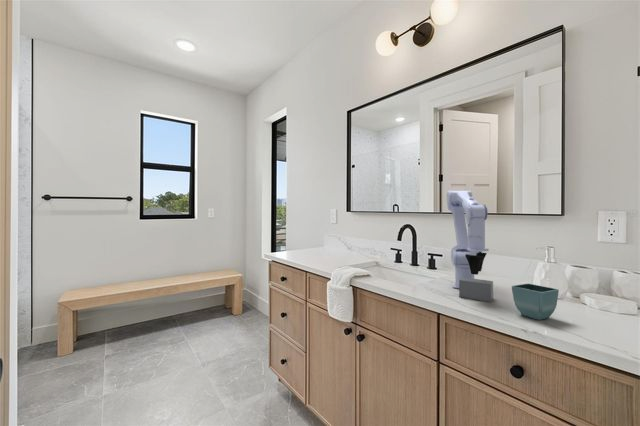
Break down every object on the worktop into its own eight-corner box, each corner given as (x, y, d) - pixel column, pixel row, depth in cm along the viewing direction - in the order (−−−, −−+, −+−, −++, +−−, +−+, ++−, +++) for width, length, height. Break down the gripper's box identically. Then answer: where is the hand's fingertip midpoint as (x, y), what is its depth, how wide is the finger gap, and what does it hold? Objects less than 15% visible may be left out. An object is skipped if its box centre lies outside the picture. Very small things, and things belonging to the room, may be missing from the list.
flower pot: (510, 314, 88) (510, 285, 89) (528, 310, 92) (528, 282, 92) (541, 323, 80) (541, 292, 80) (559, 319, 84) (559, 289, 84)
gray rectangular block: (462, 293, 112) (462, 277, 112) (493, 298, 106) (493, 281, 106) (459, 296, 107) (459, 280, 107) (491, 302, 101) (491, 284, 101)
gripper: (485, 238, 98) (485, 277, 98) (490, 236, 110) (490, 271, 110) (463, 237, 103) (463, 274, 102) (470, 235, 114) (470, 268, 114)
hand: (476, 272), depth 106 cm, fingers open, 7 cm apart
